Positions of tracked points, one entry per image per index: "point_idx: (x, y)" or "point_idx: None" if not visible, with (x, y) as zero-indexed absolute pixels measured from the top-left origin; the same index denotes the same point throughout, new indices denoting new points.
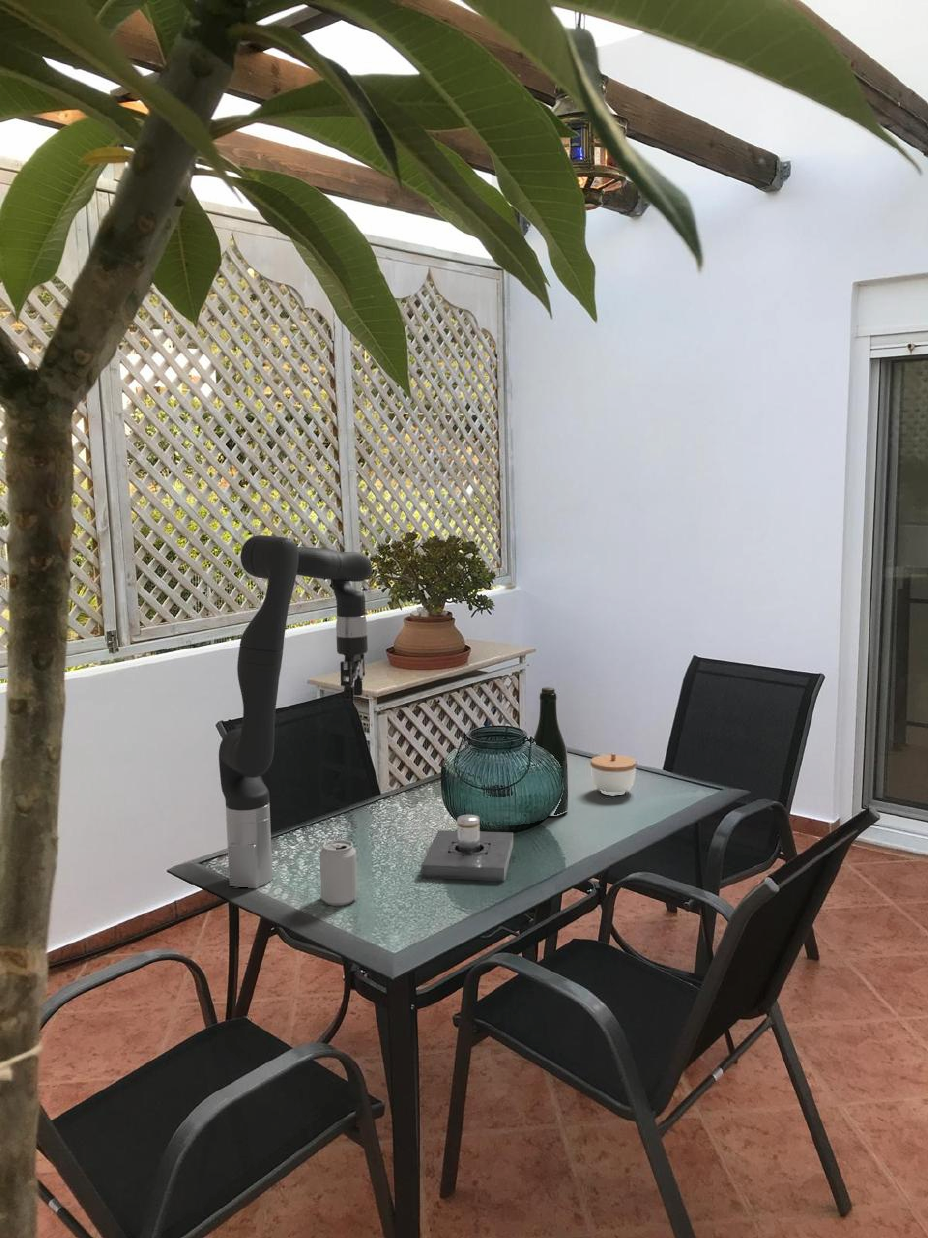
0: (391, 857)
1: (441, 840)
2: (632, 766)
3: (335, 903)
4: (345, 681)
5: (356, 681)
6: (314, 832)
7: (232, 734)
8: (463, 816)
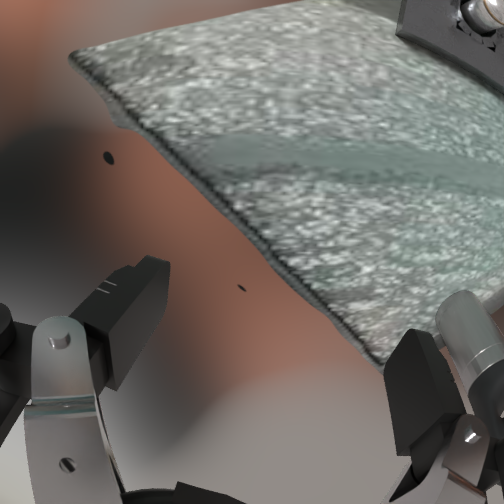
0: (448, 122)
1: (450, 40)
2: None
3: None
4: (490, 487)
5: (115, 368)
6: (308, 237)
7: None
8: (496, 8)
